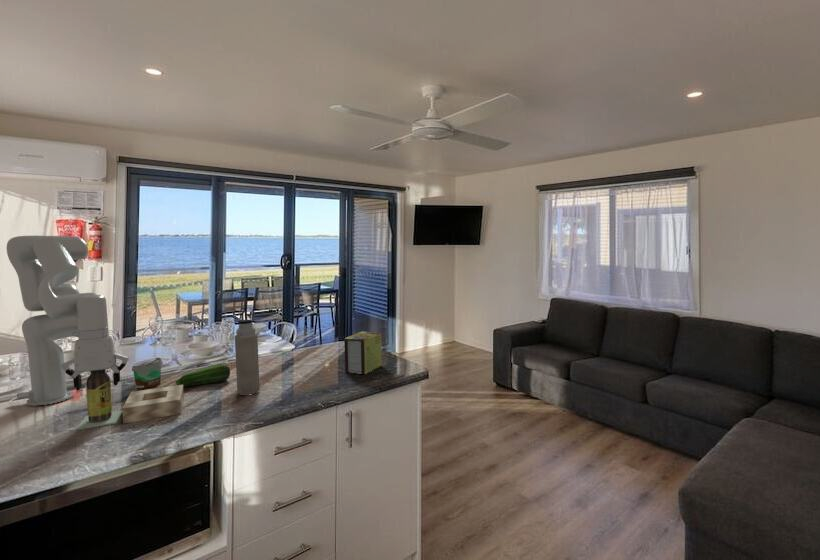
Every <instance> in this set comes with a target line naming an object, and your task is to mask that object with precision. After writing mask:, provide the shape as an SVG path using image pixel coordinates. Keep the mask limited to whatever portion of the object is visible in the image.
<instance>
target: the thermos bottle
mask: <svg viewBox="0 0 820 560" xmlns="http://www.w3.org/2000/svg"><path fill="white" fill-rule="evenodd" d="M237 323H238V328H237V329H236V332H235V335H234V349H235V350H234V352H235V373H236V375H235V376H236V390H237V391H236V392H237V393H238V394H240V395H249V394H254V393H257V392H258V391H259V390H260V391H261V389H260V388H261V387H260V369H259V368H260V367H259V343H258V341H259V340H258V338H259V337H258V333H256V328H255V327H254V325H253V320H252V319H240V320H238V322H237ZM260 391H259V392H260ZM259 392H258V393H259ZM258 393H257V394H258ZM238 394H237V395H238ZM240 395H239V396H240ZM254 395H255V394H254Z"/></svg>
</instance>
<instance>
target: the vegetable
mask: <svg viewBox="0 0 820 560" xmlns="http://www.w3.org/2000/svg"><path fill="white" fill-rule="evenodd" d="M230 375H231V368H230V366H229V365H227V364H215V365H212V366H209V367H203V368H200V369H198V370H195V371H194V370H193V371H191V372H188V373H185V374H182V376H181V377H180V378H178V379H177V380H175V384H176V386H177V385H183V388H190V386H191V387H193V386H194V387H195V386H200V385H207V384H208V385H210V384H218V383H222V382H225V381H226V380H228V379H229V378H230Z"/></svg>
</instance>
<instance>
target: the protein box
mask: <svg viewBox="0 0 820 560" xmlns="http://www.w3.org/2000/svg"><path fill="white" fill-rule="evenodd" d="M343 340H344V341H343V342H344V369H345V370H344V371H345V372H344V373H346V372H350V373H349V374H353V373H357V374H356V375H359V374H366V375H367V373H368V372H370V371H371V372H373V371H374V370H373V369H375V368H377V367H378V366H380V365H381V366H382V333H381V332H373V331H371V332H370V331H360V332H358V333H354V334H352V335H349V336H347V337H345V338H344V339H343ZM381 366H380V367H381ZM378 368H379V367H378ZM378 368H377V369H378ZM372 370H373V371H372ZM375 370H376V369H375ZM371 372H370V373H371ZM368 374H369V373H368Z"/></svg>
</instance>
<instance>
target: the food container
mask: <svg viewBox="0 0 820 560" xmlns="http://www.w3.org/2000/svg"><path fill="white" fill-rule="evenodd" d="M163 365H164V363H163V359H162V358H160V357H155V359H154V360H152V361H146V362H143V363H141V364H139V365H132V367H131V372H133V377H134V381H135V382H134V385H135V388H136V389H138V390H137V391H141V389H144V390H148V389H149V388H150V389H154V388H156V386H157V387H158V385H159V386H161V384H162V383H161V382H162V381H161V377H162V376H161V375H162V366H163ZM153 387H154V388H153Z"/></svg>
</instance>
